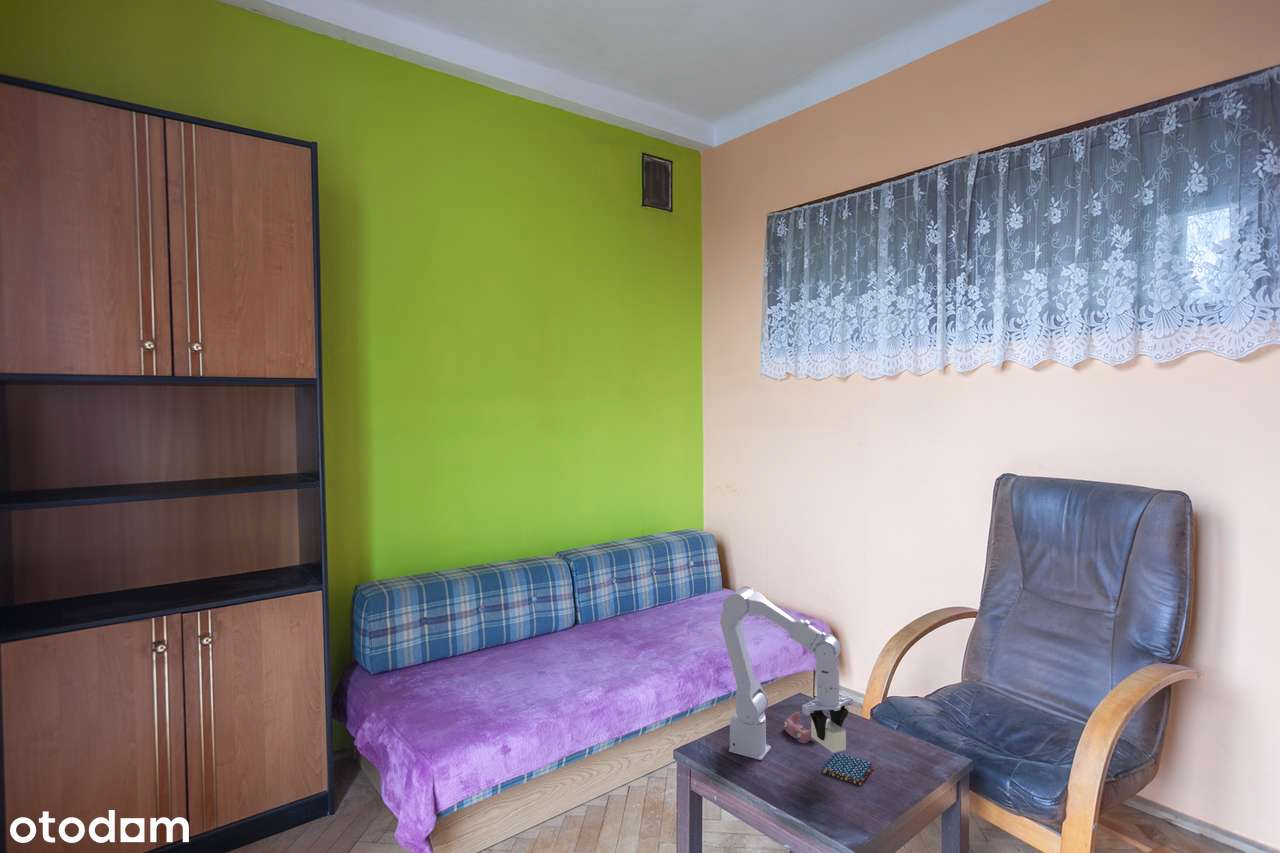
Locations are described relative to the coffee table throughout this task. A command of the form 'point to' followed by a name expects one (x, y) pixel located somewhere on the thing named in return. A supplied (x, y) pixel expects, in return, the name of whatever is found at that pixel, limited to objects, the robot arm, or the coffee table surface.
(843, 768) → the woven mat
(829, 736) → the painted block
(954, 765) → the coffee table surface
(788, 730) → the pink curved figurine
